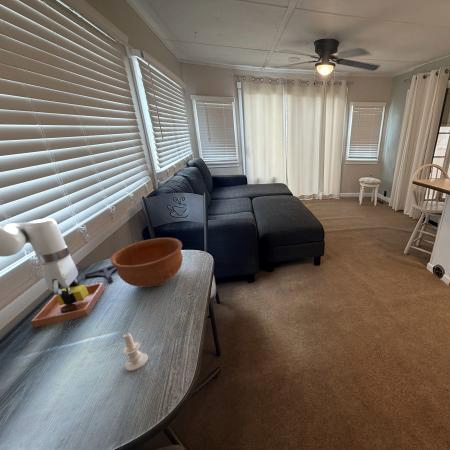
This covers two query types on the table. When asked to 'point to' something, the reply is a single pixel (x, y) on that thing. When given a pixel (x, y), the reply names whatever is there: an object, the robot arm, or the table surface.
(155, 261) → the bowl
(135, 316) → the table surface
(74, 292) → the sponge
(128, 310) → the table surface
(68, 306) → the food scrap
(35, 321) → the pan
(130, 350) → the chess piece
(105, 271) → the bracket
